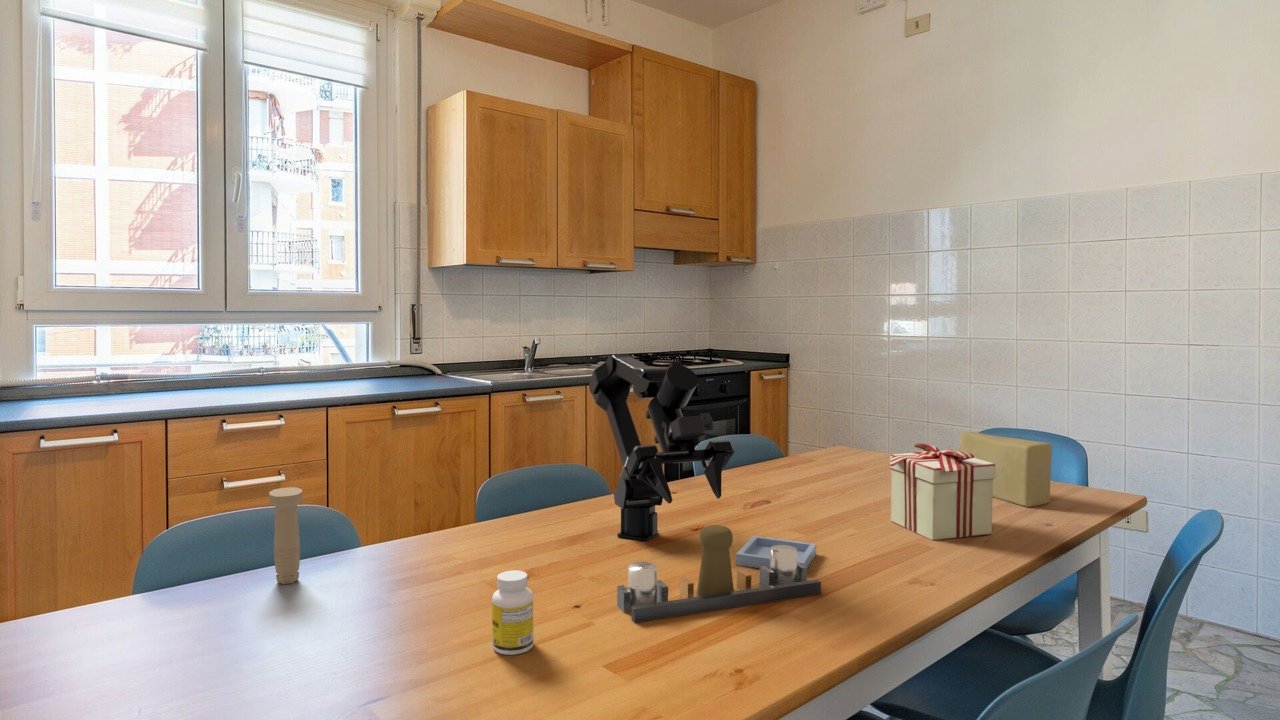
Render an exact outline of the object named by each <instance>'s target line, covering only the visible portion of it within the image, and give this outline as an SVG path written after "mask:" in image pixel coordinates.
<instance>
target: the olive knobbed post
mask: <svg viewBox="0 0 1280 720" xmlns="http://www.w3.org/2000/svg"><path fill="white" fill-rule="evenodd" d="M733 535H734V534H733V532H732V530H731V529H730V528H729V527H727V526H724V525H717V524H712V525H706V526H705V527H703V528H702V530H701V531H700V534H699V540H700V545H701V546H702V554H701V555H702V556H701V561H700V569H699V575H698V580H697V581H698V582H697V589H696V597H699V596H706V595H713V594H719V593H726V592H733V591H735V588H734V580H733V579H734V578H733V570H732V562H731V554H730V548H731V546H732V545H733V542H734V539H733V538H734V536H733Z"/></svg>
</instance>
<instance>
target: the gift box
mask: <svg viewBox="0 0 1280 720" xmlns="http://www.w3.org/2000/svg"><path fill="white" fill-rule="evenodd" d="M914 448H918V449H921V450H920V451H915V452H914V451H913V452H907V453H905V452H904V453H892V454H889V464H888V466H889V469H891V481H890V482H891V484H890V485H891V487H890V490H891V491H890V522H892V523H894V524H896V525H898V526H900V527H903V528H904V529H906V530H909V531H911V532H913V533H915V534H918V536H919V535H920V536H921V537H923V538H926V539H928V540H930V541H938V540H949V539H960V538H968V537H969V538H970V537H977V536H987V535H992V534H993V533H992V532H993V498H994V497H993V479H995V467H996V465H995V464H994V463H991V462H987V461H984V460H980V459H977V458H974V455H973V454H971V453H966V452H958V451H955V450H953V449H945V450H941V449H939V448H938V447H937V446H934V445H931V444H926V443H921V442H920V443H916V444H914Z"/></svg>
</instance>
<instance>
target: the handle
mask: <svg viewBox="0 0 1280 720" xmlns="http://www.w3.org/2000/svg"><path fill="white" fill-rule="evenodd" d="M268 495H269V496H268V497H269V504H270V505H273V506H274V511H275V512H274V537H273V538H274V539H273V556H274V558H273V559H274V568H275V572H276V575H275V578H276V582H277V584H281V585H287V584H294V583H295V582H297V581H298V580H299V578H300V572H299V570H300V565H301V564H300V562H301V543H300V540H301V539H300V531H299V530H300V527H299V517H298V504H299V503H300V502H301V501H303V489H302V488H299V487H294V486H291V487H280V488H276V489H275V488H274V489H272V490H270V491H269V493H268Z"/></svg>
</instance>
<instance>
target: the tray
mask: <svg viewBox="0 0 1280 720" xmlns="http://www.w3.org/2000/svg"><path fill="white" fill-rule="evenodd" d="M775 545H787V546H792V547H795V548H796V549H797V562H798V563H800V564H802V565H804V566H806V567H807V569H808V568H809V566H810V565H811V563H812V562H813V560H814V559H813V558H816V555H817V543H811V542H805V541H798V540H791V539H782V538H773V537H767V536H766V537H765V536H758V535H752V537H751V538H750V539H749V540H748V541H747V542H746V543H745V544H744V545H743V546H742V547H741V548H740V549H739V550H738V551H737V552H736V554H735V566H739V567H746V566H747V567H748V568H753V567H754V568H755V569H760V567H761V566H766V567H767V568H769V569H770V547H772V546H775ZM811 561H812V562H811Z"/></svg>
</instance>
